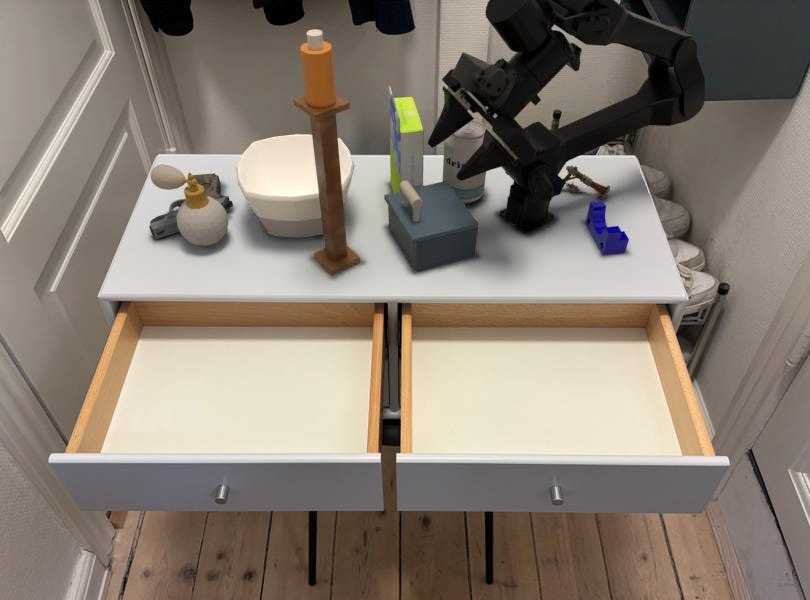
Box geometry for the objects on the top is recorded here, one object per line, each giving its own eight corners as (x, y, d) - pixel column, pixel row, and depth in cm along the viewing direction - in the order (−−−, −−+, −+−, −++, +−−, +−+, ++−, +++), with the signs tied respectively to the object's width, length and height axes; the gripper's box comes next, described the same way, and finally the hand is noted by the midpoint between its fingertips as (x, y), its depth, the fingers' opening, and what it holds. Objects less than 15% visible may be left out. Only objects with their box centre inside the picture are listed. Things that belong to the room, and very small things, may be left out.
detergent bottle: (325, 90, 82) (319, 23, 76) (341, 101, 80) (336, 33, 74) (300, 99, 81) (292, 31, 75) (316, 110, 79) (309, 42, 73)
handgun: (131, 190, 108) (151, 229, 100) (212, 166, 112) (237, 202, 105) (135, 203, 109) (155, 242, 102) (216, 179, 114) (240, 215, 107)
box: (423, 218, 106) (426, 116, 93) (398, 220, 106) (397, 119, 93) (412, 181, 113) (413, 82, 100) (388, 183, 113) (386, 84, 100)
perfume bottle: (230, 252, 100) (213, 184, 91) (165, 257, 100) (141, 189, 91) (233, 222, 105) (217, 155, 96) (171, 227, 105) (149, 159, 96)
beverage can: (436, 203, 109) (439, 136, 100) (448, 180, 113) (452, 114, 104) (477, 211, 107) (484, 143, 98) (487, 187, 112) (495, 121, 103)
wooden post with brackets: (554, 180, 111) (570, 160, 108) (594, 204, 112) (611, 184, 109) (552, 186, 110) (568, 165, 107) (593, 210, 111) (610, 191, 108)
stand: (341, 245, 102) (327, 87, 83) (360, 262, 99) (349, 102, 80) (314, 258, 100) (292, 98, 81) (332, 275, 97) (314, 114, 78)
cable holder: (624, 252, 100) (631, 231, 97) (602, 254, 100) (608, 233, 97) (606, 220, 105) (612, 199, 102) (585, 222, 105) (590, 201, 102)
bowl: (356, 181, 113) (352, 130, 106) (359, 247, 101) (355, 194, 94) (251, 186, 112) (240, 135, 105) (241, 253, 100) (229, 200, 93)
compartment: (416, 271, 97) (416, 243, 93) (388, 227, 105) (388, 198, 101) (475, 256, 100) (478, 227, 96) (444, 213, 107) (445, 185, 103)
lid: (412, 243, 93) (412, 215, 90) (384, 199, 100) (383, 171, 97) (478, 227, 96) (481, 199, 92) (445, 185, 103) (447, 157, 99)
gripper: (462, 4, 87) (381, 97, 92) (535, 63, 75) (438, 165, 80) (505, 59, 95) (428, 141, 100) (576, 119, 84) (486, 209, 88)
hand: (443, 161), depth 92 cm, fingers open, 9 cm apart
